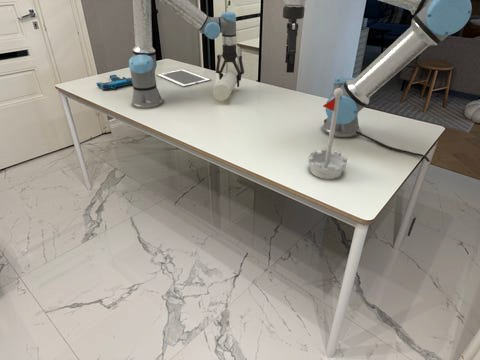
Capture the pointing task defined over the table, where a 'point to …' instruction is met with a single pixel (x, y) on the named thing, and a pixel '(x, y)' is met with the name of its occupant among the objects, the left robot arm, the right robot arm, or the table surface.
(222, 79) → the white cylinder
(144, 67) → the left robot arm
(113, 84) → the submachine gun
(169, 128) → the table surface
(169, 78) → the tablet
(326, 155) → the flag stand
